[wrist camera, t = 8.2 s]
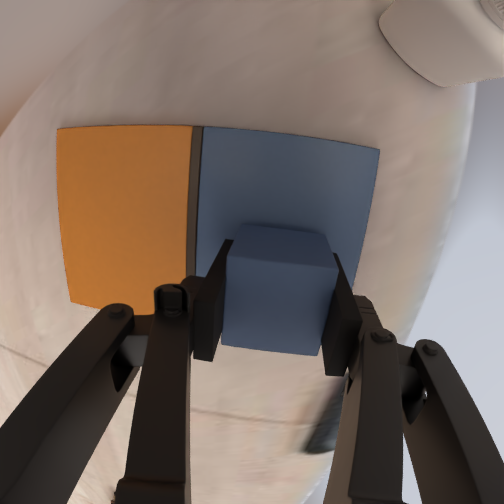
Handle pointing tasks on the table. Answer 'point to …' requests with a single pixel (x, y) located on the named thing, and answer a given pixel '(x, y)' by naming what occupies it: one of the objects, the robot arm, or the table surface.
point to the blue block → (278, 290)
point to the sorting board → (196, 201)
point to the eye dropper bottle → (448, 38)
